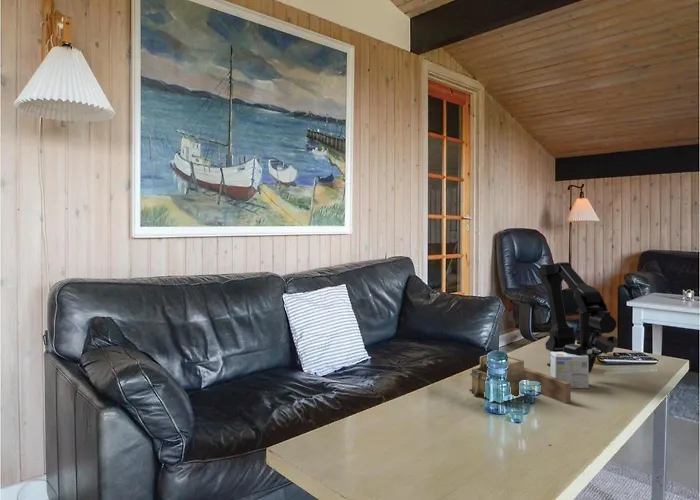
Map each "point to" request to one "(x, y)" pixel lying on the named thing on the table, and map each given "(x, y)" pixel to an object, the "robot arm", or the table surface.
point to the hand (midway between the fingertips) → (588, 372)
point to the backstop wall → (550, 385)
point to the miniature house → (513, 375)
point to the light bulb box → (570, 368)
